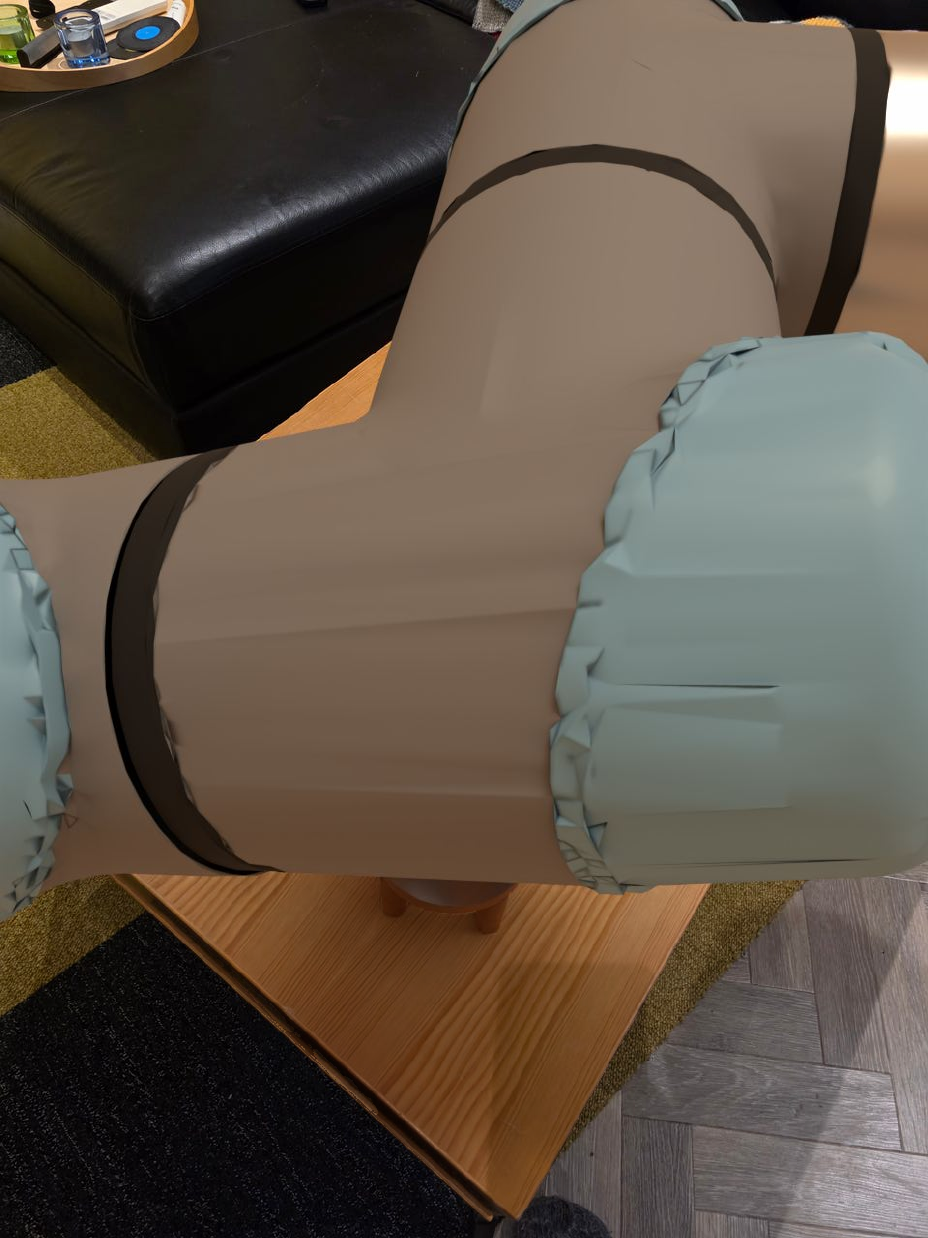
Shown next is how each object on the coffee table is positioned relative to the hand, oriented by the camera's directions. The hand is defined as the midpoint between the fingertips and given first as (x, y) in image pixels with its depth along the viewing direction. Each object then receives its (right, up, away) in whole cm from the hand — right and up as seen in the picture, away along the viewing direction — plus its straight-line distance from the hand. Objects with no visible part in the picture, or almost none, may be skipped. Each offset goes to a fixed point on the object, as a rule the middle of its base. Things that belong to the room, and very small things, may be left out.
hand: (536, 602), depth 48 cm
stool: (-5, -19, +15) cm, 25 cm away
